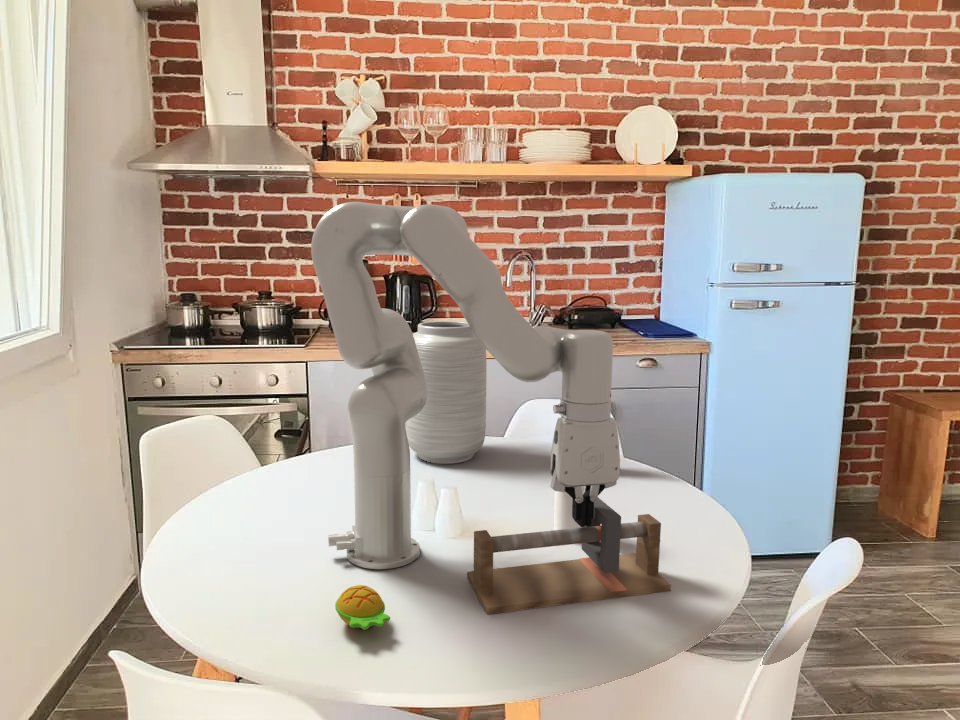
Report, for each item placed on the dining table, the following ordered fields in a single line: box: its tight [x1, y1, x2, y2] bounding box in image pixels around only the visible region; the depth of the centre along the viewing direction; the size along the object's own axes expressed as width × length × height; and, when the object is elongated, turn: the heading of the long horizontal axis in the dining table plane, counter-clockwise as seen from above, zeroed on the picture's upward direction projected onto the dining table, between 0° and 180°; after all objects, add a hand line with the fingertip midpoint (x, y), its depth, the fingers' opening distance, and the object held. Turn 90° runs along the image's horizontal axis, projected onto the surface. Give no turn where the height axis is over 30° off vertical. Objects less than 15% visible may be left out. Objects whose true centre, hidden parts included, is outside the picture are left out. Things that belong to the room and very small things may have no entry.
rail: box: [466, 513, 672, 615], centre depth 114 cm, size 30×12×10 cm, turn 105°
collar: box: [581, 496, 622, 573], centre depth 115 cm, size 2×9×9 cm, turn 15°
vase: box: [405, 320, 487, 465], centre depth 180 cm, size 20×20×34 cm
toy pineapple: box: [334, 584, 391, 630], centre depth 101 cm, size 7×10×5 cm
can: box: [553, 486, 584, 530], centre depth 133 cm, size 6×6×12 cm
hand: (582, 523), depth 114 cm, fingers closed
